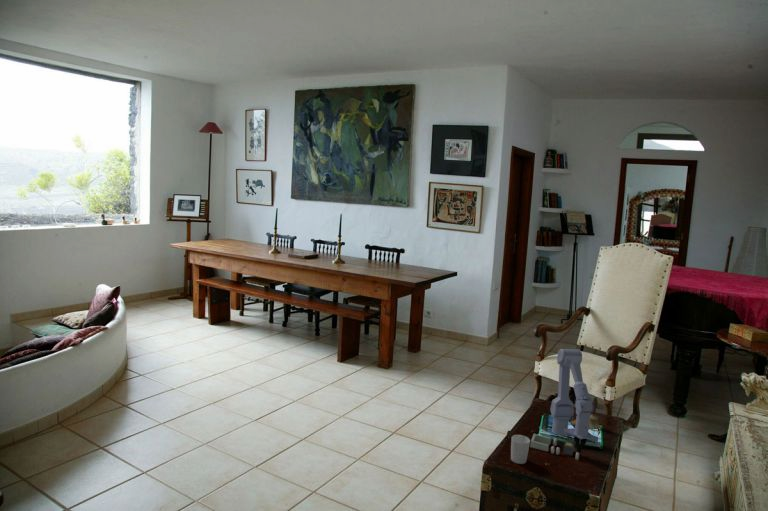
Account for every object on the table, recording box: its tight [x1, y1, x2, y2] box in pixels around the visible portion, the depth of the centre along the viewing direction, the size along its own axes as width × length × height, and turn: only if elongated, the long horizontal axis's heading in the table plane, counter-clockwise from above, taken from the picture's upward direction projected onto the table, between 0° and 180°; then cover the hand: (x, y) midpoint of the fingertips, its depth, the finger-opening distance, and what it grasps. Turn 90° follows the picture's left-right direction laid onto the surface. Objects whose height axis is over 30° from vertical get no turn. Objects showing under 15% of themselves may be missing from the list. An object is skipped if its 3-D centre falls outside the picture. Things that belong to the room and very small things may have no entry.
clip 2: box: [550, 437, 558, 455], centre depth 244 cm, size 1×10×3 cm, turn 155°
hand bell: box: [589, 397, 601, 430], centre depth 269 cm, size 8×8×16 cm
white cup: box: [510, 434, 531, 465], centre depth 232 cm, size 8×8×10 cm
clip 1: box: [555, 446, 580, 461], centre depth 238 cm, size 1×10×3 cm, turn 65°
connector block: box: [562, 441, 575, 457], centre depth 241 cm, size 4×4×4 cm
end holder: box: [529, 433, 552, 452], centre depth 247 cm, size 8×8×3 cm
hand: (578, 452), depth 240 cm, fingers closed
